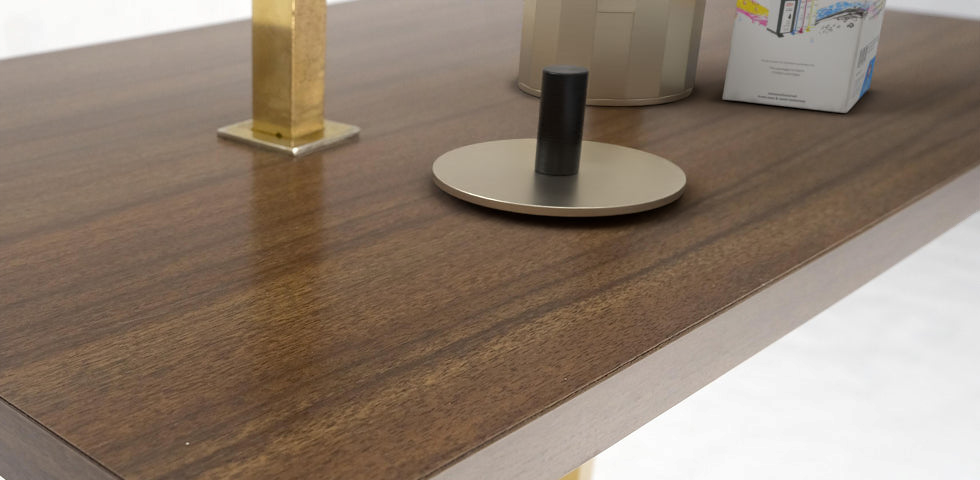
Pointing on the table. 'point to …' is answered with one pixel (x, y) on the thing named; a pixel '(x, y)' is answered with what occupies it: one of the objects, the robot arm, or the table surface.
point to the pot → (615, 47)
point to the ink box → (803, 52)
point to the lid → (559, 164)
